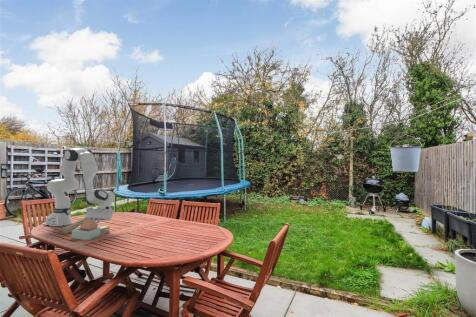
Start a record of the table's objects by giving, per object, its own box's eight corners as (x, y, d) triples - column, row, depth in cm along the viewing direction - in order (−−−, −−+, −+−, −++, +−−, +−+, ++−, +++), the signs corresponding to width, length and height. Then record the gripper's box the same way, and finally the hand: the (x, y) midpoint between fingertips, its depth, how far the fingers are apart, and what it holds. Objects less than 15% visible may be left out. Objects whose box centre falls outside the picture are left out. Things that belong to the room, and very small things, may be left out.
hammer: (66, 222, 218) (93, 206, 247) (60, 221, 219) (88, 206, 248) (69, 241, 222) (96, 223, 250) (64, 240, 223) (91, 223, 251)
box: (71, 238, 209) (71, 230, 209) (83, 234, 220) (83, 226, 220) (89, 240, 206) (89, 231, 206) (99, 235, 218) (100, 227, 218)
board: (83, 234, 220) (83, 229, 220) (93, 230, 232) (93, 225, 232) (99, 235, 218) (99, 230, 218) (109, 231, 230) (109, 226, 230)
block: (85, 233, 218) (79, 228, 211) (89, 224, 222) (83, 219, 215) (94, 234, 217) (88, 228, 210) (98, 225, 221) (92, 219, 214)
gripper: (89, 206, 231) (80, 221, 222) (112, 207, 228) (104, 222, 219) (92, 210, 236) (84, 225, 226) (115, 212, 233) (108, 227, 223)
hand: (94, 224), depth 222 cm, fingers closed
